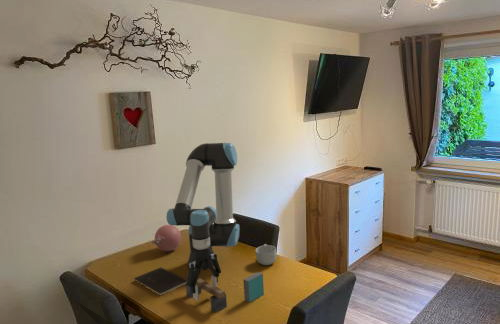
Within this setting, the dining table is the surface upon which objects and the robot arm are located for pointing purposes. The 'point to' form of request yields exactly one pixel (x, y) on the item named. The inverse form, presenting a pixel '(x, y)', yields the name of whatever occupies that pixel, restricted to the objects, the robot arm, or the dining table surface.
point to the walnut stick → (210, 288)
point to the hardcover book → (161, 280)
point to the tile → (253, 287)
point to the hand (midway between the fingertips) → (205, 294)
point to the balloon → (167, 238)
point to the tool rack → (215, 301)
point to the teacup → (266, 254)
